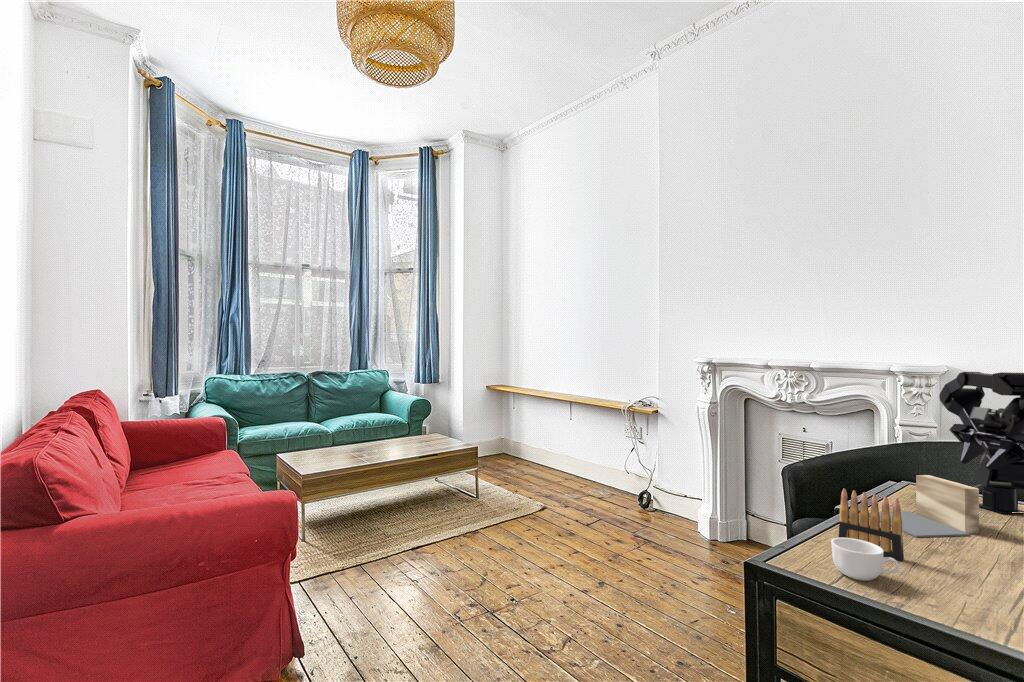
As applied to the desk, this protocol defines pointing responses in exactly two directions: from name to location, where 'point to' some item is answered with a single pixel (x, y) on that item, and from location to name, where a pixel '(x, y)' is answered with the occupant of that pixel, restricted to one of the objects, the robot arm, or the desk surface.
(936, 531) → the mat
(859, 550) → the teacup
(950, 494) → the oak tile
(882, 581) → the desk surface
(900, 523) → the ammunition clip
